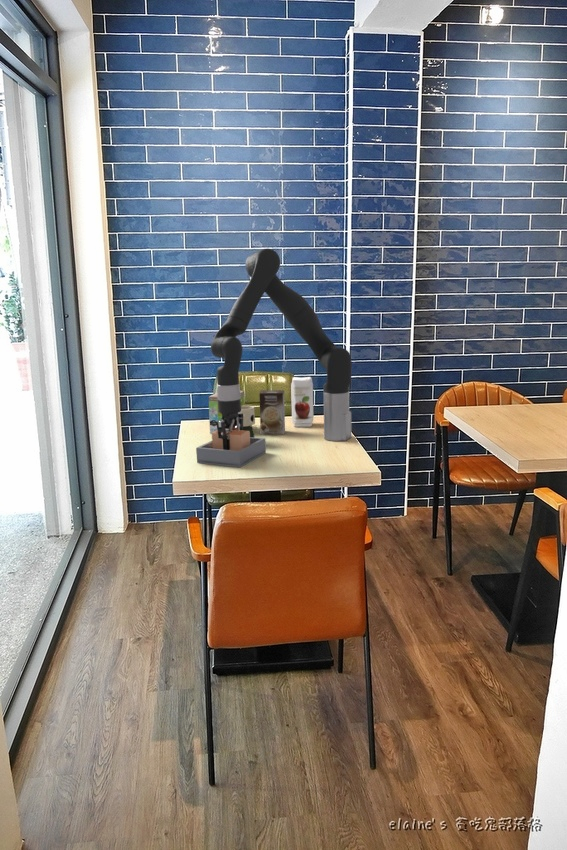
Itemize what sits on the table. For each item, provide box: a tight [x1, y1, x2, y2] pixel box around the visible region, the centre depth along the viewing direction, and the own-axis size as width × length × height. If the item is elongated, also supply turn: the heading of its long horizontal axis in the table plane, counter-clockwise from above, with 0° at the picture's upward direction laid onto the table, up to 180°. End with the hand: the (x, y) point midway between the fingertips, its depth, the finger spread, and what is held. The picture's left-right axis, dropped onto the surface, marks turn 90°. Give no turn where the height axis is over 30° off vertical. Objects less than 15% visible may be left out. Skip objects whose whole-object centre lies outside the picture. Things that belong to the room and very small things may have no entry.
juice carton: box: [290, 376, 314, 428], centre depth 257 cm, size 8×9×19 cm
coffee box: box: [259, 389, 286, 436], centre depth 247 cm, size 9×6×16 cm
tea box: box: [208, 390, 246, 435], centre depth 254 cm, size 15×10×15 cm, turn 165°
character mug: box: [239, 405, 256, 438], centre depth 235 cm, size 11×7×13 cm, turn 179°
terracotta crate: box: [211, 429, 250, 451], centre depth 216 cm, size 11×6×6 cm, turn 65°
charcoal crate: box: [195, 436, 267, 468], centre depth 217 cm, size 16×18×5 cm
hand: (231, 447), depth 217 cm, fingers closed on terracotta crate, 6 cm apart
